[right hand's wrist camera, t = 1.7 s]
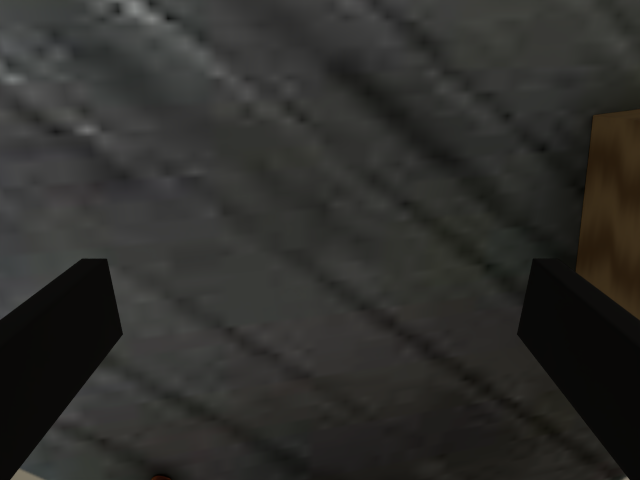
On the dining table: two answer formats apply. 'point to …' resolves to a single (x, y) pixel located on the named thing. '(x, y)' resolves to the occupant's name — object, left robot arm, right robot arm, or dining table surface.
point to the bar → (613, 210)
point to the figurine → (160, 478)
